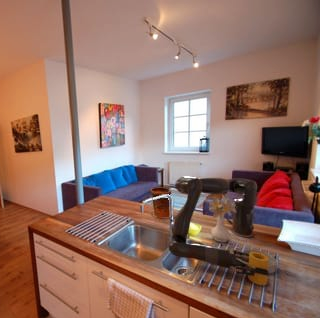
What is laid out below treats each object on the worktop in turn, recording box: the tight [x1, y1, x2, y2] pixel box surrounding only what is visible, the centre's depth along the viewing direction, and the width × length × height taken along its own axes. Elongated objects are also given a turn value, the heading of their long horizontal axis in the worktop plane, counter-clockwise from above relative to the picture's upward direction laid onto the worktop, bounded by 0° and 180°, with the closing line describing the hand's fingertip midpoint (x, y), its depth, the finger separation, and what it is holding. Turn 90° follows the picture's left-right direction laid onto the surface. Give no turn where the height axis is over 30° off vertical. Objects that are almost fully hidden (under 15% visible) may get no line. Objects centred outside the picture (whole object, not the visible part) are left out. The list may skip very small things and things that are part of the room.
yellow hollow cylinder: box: [247, 252, 269, 286], centre depth 84 cm, size 6×6×11 cm
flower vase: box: [208, 194, 236, 243], centre depth 113 cm, size 13×18×25 cm
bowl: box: [241, 248, 278, 274], centre depth 93 cm, size 12×12×4 cm
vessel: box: [150, 186, 172, 219], centre depth 151 cm, size 14×14×20 cm
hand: (265, 267), depth 82 cm, fingers closed on yellow hollow cylinder, 6 cm apart
